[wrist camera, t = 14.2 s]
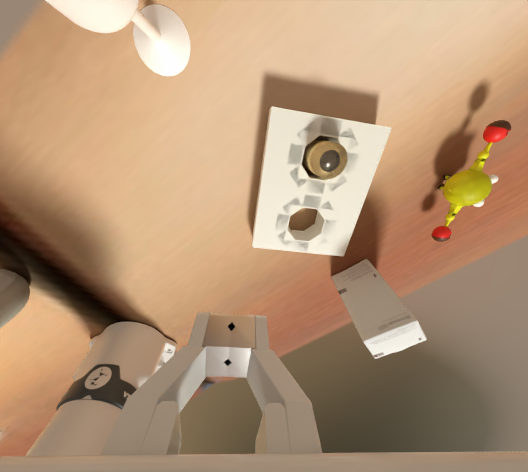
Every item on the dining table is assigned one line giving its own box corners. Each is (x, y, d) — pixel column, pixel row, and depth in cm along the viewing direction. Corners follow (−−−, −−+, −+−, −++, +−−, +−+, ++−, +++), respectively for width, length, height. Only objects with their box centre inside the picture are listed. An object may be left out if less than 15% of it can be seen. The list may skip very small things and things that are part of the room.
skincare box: (366, 257, 41) (420, 317, 28) (376, 276, 43) (431, 340, 30) (328, 277, 43) (362, 342, 29) (340, 295, 45) (377, 362, 32)
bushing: (324, 172, 33) (341, 181, 27) (297, 168, 33) (308, 176, 26) (332, 142, 31) (352, 144, 25) (304, 137, 31) (317, 139, 24)
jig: (335, 245, 39) (343, 256, 36) (252, 236, 38) (252, 247, 34) (375, 128, 30) (391, 127, 27) (269, 109, 29) (271, 106, 25)
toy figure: (434, 231, 39) (467, 249, 33) (407, 229, 38) (436, 247, 32) (489, 124, 31) (547, 121, 25) (456, 119, 31) (506, 116, 24)
